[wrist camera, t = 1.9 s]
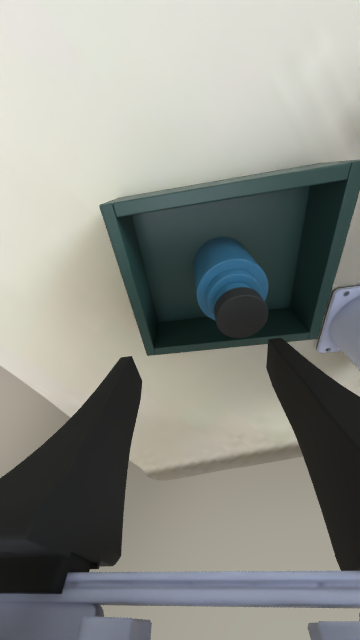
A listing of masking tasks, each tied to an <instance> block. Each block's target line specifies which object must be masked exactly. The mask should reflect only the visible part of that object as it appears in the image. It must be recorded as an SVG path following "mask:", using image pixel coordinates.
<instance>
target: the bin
mask: <svg viewBox="0 0 360 640" xmlns="http://www.w3.org/2000/svg"><path fill="white" fill-rule="evenodd" d="M359 191H360V160H350V161H339V162H327V163H318V164H312V165H306V166H300V167H295V168H289V169H283V170H277V171H272V172H266V173H260V174H254V175H248V176H243V177H237V178H231V179H225V180H220V181H214V182H208V183H202V184H196V185H191V186H185V187H179V188H173V189H167V190H162V191H156V192H150V193H144V194H139V195H133V196H127V197H121V198H117V199H115V200H112V201H109V202H107V203H104V204H101V205H100V210H101V213H102V216H103V219H104V222H105V225H106V228H107V231H108V234H109V238H110V241H111V244H112V247H113V250H114V253H115V256H116V259H117V263H118V266H119V269H120V272H121V275H122V278H123V281H124V284H125V287H126V291H127V294H128V297H129V300H130V303H131V306H132V309H133V312H134V316H135V319H136V322H137V325H138V328H139V331H140V334H141V337H142V341H143V344H144V347H145V350H146V353H147V356H150V355H160V354H170V353H180V352H190V351H200V350H210V349H220V348H230V347H240V346H250V345H260V344H268V339H275V338H282V339H283V340H285V341H286V342H290V341H300V340H310V339H318V336H319V332H320V329H321V325H322V322H323V318H324V315H325V311H326V308H327V304H328V300H329V297H330V293H331V290H332V286H333V283H334V279H335V276H336V272H337V269H338V265H339V262H340V258H341V255H342V251H343V247H344V244H345V240H346V237H347V233H348V230H349V226H350V223H351V219H352V216H353V212H354V209H355V205H356V202H357V198H358V194H359ZM216 237H230V238H233V239H235V240H237V241H238V242H239V243H240V244H241V245H242V246H243V247H244V248H245V249H246V250H247V252H248V253H249V254H250V255H251V256H252V258H253V259H254V260H255V261H256V262H257V264H258V265H259V266H260V267H261V268H262V270H263V271H264V273H265V274H266V276H267V280H268V293H267V297H266V299H265V301H264V302H265V303H266V305H267V307H268V318H267V321H266V323H265V325H264V326H263V327H262V328H261V329H260V330H259V331H258V332H256V333H254V334H253V335H250V336H247V337H242V338H234V337H230V336H227V335H225V334H224V333H222V332H221V331H220V330H219V328H218V327H217V324H216V320H213V319H211V318H209V317H208V316H207V315H205V314H204V313H203V311H202V310H201V309H200V307H199V305H198V302H197V296H196V287H195V278H194V269H193V262H194V258H195V255H196V253H197V251H198V250H199V248H200V247H201V246H202V245H203V244H204V243H206V242H207V241H209V240H211V239H213V238H216Z"/></svg>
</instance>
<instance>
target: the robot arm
mask: <svg viewBox="0 0 360 640" xmlns="http://www.w3.org/2000/svg"><path fill="white" fill-rule="evenodd" d="M345 292H346V293H345ZM344 293H345V294H344ZM317 350H318V352H319V353H327V352H338V351H342V352H343V353H344V354H345V355H346V356H347V357H348V358H349V359H350V360H351V362H352V363H353V364H354V365H355V366H356V367H357V368H358V369H359V370H360V286H354V287H345V288H339V289H336V290H335V291H334V292H333V295H332V298H331V302H330V305H329V308H328V312H327V315H326V319H325V322H324V326H323V329H322V333H321V336H320V339H319V343H318V346H317ZM266 368H267V371H268V374H269V377H270V380H271V383H272V386H273V388H274V390H275V392H276V394H277V397H278V399H279V401H280V403H281V405H282V407H283V409H284V411H285V413H286V416H287V418H288V420H289V422H290V424H291V426H292V428H293V431H294V433H295V435H296V438H297V440H298V443H299V446H300V449H301V451H302V454H303V457H304V460H305V463H306V465H307V468H308V471H309V474H310V477H311V480H312V483H313V486H314V489H315V492H316V495H317V498H318V501H319V504H320V507H321V510H322V513H323V517H324V520H325V523H326V526H327V530H328V533H329V536H330V539H331V543H332V546H333V549H334V553H335V557H336V559H337V562H338V564H339V567H340V569H341V571H248V572H247V571H241V572H240V571H238V572H237V571H236V572H89V570H90V569H99V566H113V565H115V564H116V562H117V561H118V560H119V558H120V557H121V545H122V528H123V512H124V500H125V489H126V488H125V487H126V479H127V469H128V461H129V453H130V446H131V441H132V436H133V432H134V427H135V423H136V418H137V413H138V409H139V404H140V399H141V389H142V379H141V377H140V375H139V372H138V370H137V368H136V365H135V363H134V360H133V358H132V356H129V357H121V358H120V359H119V361H118V362H117V363H116V365H115V366H114V367H113V369H112V370H111V371H110V372H109V374H108V375H107V376H106V378H105V379H104V380H103V382H102V383H101V384H100V385H99V387H98V388H97V389H96V390H95V392H94V393H93V394H92V395H91V396H90V397H89V399H88V400H87V401H86V402H85V403H84V404H83V406H82V407H81V408H80V409H79V410H78V411H77V412H76V413H75V414H74V415H73V416H72V417H71V418H70V419H69V420H68V421H67V422H66V424H65V425H64V426H62V428H60V429H59V430H58V431H57V432H56V433H55V434H54V435H53V436H52V437H50V439H48V440H47V441H46V442H45V443H44V444H43V445H42V446H41V447H40V448H38V449H37V450H36V451H35V452H33V453H32V454H31V455H30V456H29V457H27V458H26V459H25V460H24V461H22V462H21V463H20V464H19V465H17V466H16V467H15V468H14V469H12V470H11V471H10V472H9V473H7V474H6V475H4V476H3V477H2V478H0V640H150V636H151V624H152V623H151V621H150V620H143V619H132V618H116V617H104V614H103V609H102V607H101V606H100V605H135V606H139V605H140V606H214V607H223V606H224V607H295V608H296V607H297V608H360V397H359V396H357V395H356V394H354V393H353V392H351V391H349V390H348V389H346V388H345V387H343V386H342V385H340V384H339V383H337V382H336V381H335V380H333V379H332V378H330V377H329V376H328V375H326V374H325V373H324V372H322V371H321V370H320V369H318V368H317V367H316V366H315V365H313V364H312V363H311V362H310V361H308V360H307V359H306V358H305V357H303V356H302V355H301V354H300V353H299V352H297V351H296V350H295V349H294V348H293V347H292V346H290V345H289V344H288V343H287V342H286V341H285V340H283V339H282V338H275V339H268V353H267V367H266ZM359 617H360V614H359ZM308 630H309V634H310V637H311V640H360V620H359V622H325V621H324V622H323V621H321V622H320V621H319V622H318V623H309V624H308Z"/></svg>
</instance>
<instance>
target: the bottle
mask: <svg viewBox="0 0 360 640" xmlns="http://www.w3.org/2000/svg"><path fill="white" fill-rule="evenodd" d="M193 269H194V278H195V287H196V296H197V302H198V305H199V307H200V309H201V310H202V311H203V313H204V314H205V315H207V316H208V317H209V318H211V319H213V320H216V324H217V327H218V328H219V330H220V331H221V332H222V333H224V334H225V335H227V336H230V337H234V338H242V337H247V336H250V335H253V334H254V333H256V332H258V331H259V330H260V329H261V328H262V327H263V326H264V325H265V323H266V321H267V318H268V307H267V305H266V303H265V302H264V301H265V299H266V297H267V293H268V280H267V276H266V274H265V273H264V271H263V270H262V268H261V267H260V266H259V265H258V264H257V262H256V261H255V260H254V259H253V258H252V256H251V255H250V254H249V253H248V252H247V250H246V249H245V248H244V247H243V246H242V245H241V244H240V243H239V242H238V241H237V240H235V239H233V238H230V237H216V238H213V239H211V240H209V241H207V242H206V243H204V244H203V245H202V246H201V247H200V248H199V250H198V251H197V253H196V255H195V258H194V262H193Z"/></svg>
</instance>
